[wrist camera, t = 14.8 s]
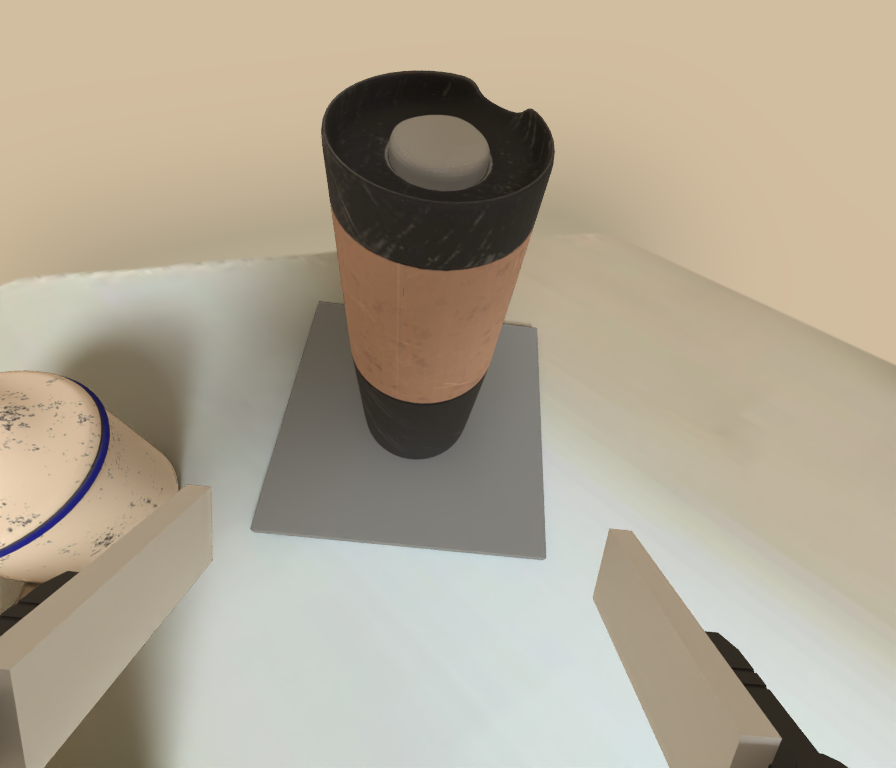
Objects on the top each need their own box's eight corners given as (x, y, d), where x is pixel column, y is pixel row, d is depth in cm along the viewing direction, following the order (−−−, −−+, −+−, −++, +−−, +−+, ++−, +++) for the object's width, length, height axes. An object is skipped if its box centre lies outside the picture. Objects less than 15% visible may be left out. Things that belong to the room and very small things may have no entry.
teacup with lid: (54, 440, 28) (-135, 330, 18) (201, 441, 29) (98, 337, 19) (-47, 658, 22) (-415, 673, 12) (144, 650, 23) (-53, 659, 13)
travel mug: (364, 469, 28) (313, 207, 11) (360, 371, 32) (318, 62, 15) (477, 459, 29) (590, 207, 12) (461, 365, 33) (529, 72, 16)
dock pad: (534, 333, 36) (536, 328, 36) (542, 559, 27) (546, 558, 27) (320, 307, 36) (318, 301, 35) (253, 532, 26) (250, 529, 26)
